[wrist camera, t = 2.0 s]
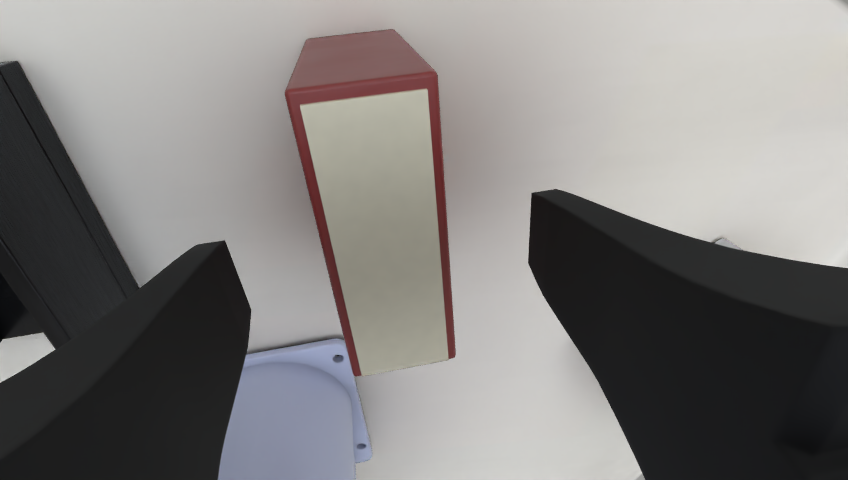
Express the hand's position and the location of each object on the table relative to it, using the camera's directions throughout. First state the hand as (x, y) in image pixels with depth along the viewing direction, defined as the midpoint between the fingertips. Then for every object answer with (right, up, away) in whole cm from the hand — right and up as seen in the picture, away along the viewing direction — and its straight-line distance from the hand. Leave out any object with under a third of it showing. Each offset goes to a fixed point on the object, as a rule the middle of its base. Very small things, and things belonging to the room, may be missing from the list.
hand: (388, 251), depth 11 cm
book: (-1, +4, +6) cm, 8 cm away
